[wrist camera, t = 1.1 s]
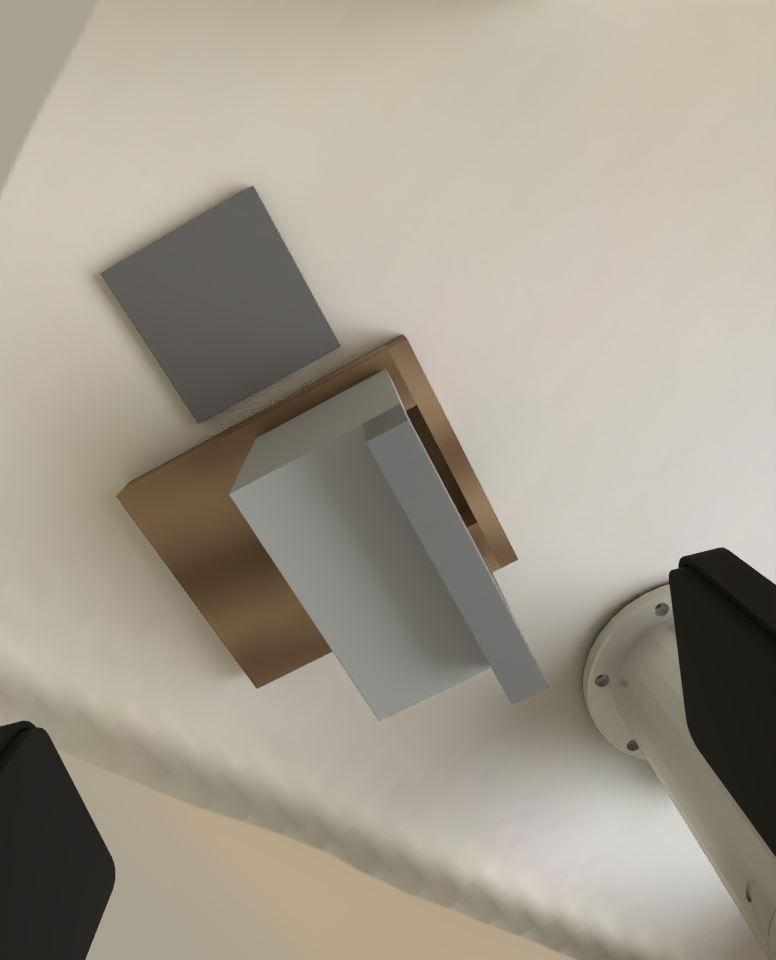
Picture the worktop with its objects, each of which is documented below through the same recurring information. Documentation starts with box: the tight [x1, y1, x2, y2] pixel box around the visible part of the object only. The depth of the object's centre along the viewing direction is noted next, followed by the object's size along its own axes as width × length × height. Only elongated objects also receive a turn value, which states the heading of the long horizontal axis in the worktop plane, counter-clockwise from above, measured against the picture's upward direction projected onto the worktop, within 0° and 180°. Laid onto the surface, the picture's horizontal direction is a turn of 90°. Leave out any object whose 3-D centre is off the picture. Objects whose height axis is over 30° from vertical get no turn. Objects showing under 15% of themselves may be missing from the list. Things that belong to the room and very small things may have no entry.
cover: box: [229, 369, 548, 721], centre depth 27 cm, size 12×7×10 cm, turn 28°
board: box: [116, 335, 518, 688], centre depth 33 cm, size 13×16×2 cm
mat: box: [101, 186, 340, 424], centre depth 30 cm, size 8×8×1 cm
